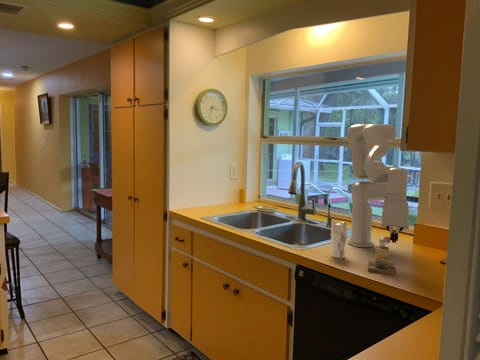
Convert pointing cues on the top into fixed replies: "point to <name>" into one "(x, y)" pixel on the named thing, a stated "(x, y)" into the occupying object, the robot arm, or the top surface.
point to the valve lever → (384, 242)
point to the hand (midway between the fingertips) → (393, 242)
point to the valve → (381, 262)
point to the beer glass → (338, 239)
